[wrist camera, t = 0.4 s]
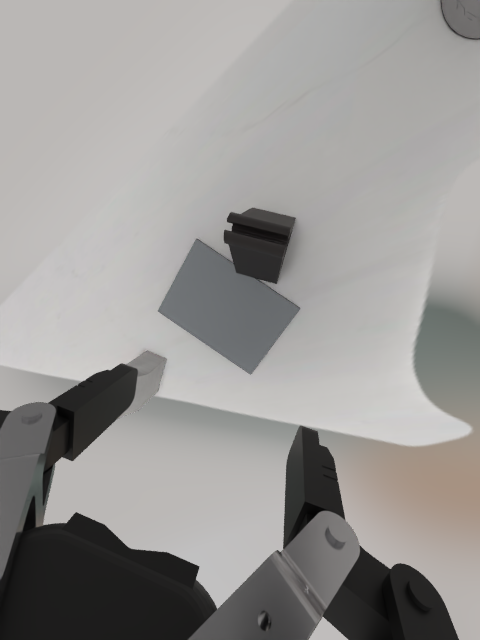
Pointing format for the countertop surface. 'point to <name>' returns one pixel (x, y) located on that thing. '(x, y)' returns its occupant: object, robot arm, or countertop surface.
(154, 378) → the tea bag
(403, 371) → the countertop surface
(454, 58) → the countertop surface
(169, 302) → the mat
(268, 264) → the phone stand
